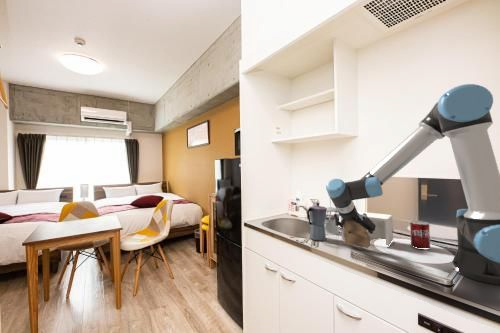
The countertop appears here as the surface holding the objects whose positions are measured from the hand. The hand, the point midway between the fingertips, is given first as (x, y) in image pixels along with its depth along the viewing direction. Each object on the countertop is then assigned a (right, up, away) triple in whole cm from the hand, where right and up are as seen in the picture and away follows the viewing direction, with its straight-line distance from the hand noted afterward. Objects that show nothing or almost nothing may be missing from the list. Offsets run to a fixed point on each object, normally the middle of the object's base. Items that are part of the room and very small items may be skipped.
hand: (359, 234), depth 105 cm
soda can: (+28, -6, -3) cm, 29 cm away
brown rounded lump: (-2, -4, -2) cm, 5 cm away
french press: (-4, -7, +26) cm, 27 cm away
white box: (+9, -6, +9) cm, 14 cm away
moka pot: (-16, -7, +14) cm, 22 cm away
